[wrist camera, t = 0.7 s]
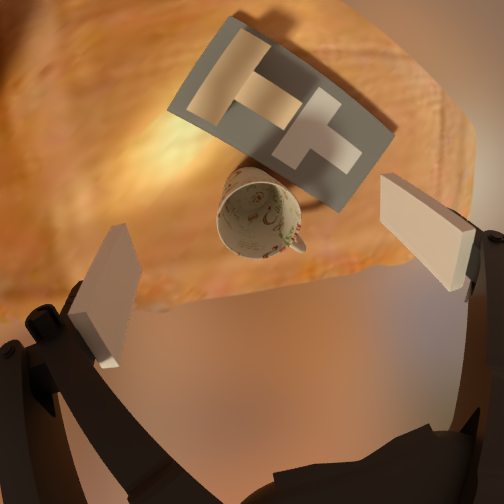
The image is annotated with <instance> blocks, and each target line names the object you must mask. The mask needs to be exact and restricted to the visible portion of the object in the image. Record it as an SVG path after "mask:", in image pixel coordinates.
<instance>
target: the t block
mask: <svg viewBox="0 0 504 504" xmlns="http://www.w3.org/2000/svg"><path fill="white" fill-rule="evenodd" d="M270 47H271V45H269V44H267V43H266V42H264V41H262V40H261V39H259V38H258V37H256V36H254V35H253V34H251V33H249V32H247V31H246V30H244V29H242V28H241V29H240V30H239V32H238V33H237V34H236V36H235V37H234V38H233V40H232V41H231V43H230V44H229V45H228V47H227V48H226V50H225V51H224V52H223V54H222V55H221V57H220V58H219V60H218V61H217V63H216V64H215V66H214V67H213V68H212V70H211V71H210V73H209V74H208V76H207V77H206V79H205V81H204V82H203V84H202V85H201V87H200V88H199V90H198V91H197V93H196V95H195V96H194V98H193V99H192V101H191V103H190V104H189V106H188V107H187V109H186V110H188V111H190V112H192V113H193V114H195V115H197V116H199V117H201V118H203V119H204V120H206V121H208V122H210V123H212V124H213V125H215V126H217V125H218V123H219V121H220V120H221V118H222V117H223V115H224V114H225V112H226V111H227V109H228V108H229V106H230V104H231V103H232V101H233V100H236V101H238V102H239V103H241V104H243V105H244V106H246V107H248V108H249V109H251V110H253V111H254V112H256V113H257V114H259V115H261V116H262V117H264V118H265V119H267V120H269V121H270V122H272V123H273V124H275V125H276V126H278V127H280V128H281V129H283V130H284V129H285V128H286V126H287V125H288V123H289V122H290V120H291V119H292V118H293V116H294V115H295V113H296V112H297V110H298V109H299V108H300V106H301V105H302V102H300V101H299V100H297V99H296V98H294V97H293V96H291V95H290V94H288V93H287V92H285V91H284V90H282V89H281V88H279V87H278V86H276V85H275V84H273V83H272V82H270V81H269V80H267V79H265V78H264V77H262V76H261V75H259V74H257V73H256V72H254V69H255V68H256V66H257V65H258V64H259V62H260V61H261V59H262V58H263V57H264V55H265V54H266V53H267V51H268V50H269V48H270Z"/></svg>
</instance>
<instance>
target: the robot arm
mask: <svg viewBox="0 0 504 504" xmlns="http://www.w3.org/2000/svg"><path fill="white" fill-rule="evenodd" d="M380 222H381V223H382V224H383V225H384V226H385V227H386V228H387V229H388V230H389V231H391V232H392V233H393V234H394V235H395V236H396V237H397V238H398V239H399V240H400V241H401V242H402V243H403V244H404V245H405V246H406V247H407V248H408V249H409V250H410V251H411V252H412V253H413V254H414V255H415V256H416V257H417V258H418V259H419V260H420V261H421V262H422V263H423V264H424V265H425V266H426V267H427V269H429V271H430V272H431V273H432V274H433V275H434V276H435V277H436V278H437V279H438V280H439V281H440V282H441V283H442V284H443V285H444V287H445V288H446V289H447V290H448V291H449V292H451V291H454V290H457V289H459V288H462V287H463V283H464V280H465V276H466V275H467V276H468V277H469V278H470V279H471V282H470V286H469V289H468V292H467V296H466V299H465V302H467V301H468V300H469V301H468V318H467V320H468V321H467V332H466V343H465V352H464V360H463V367H462V374H461V381H460V387H459V392H458V398H457V403H456V408H455V413H454V417H453V421H452V424H451V426H450V428H449V430H448V431H434V432H433V431H432V428H431V427H430V425H429V424H426V425H424V426H422V427H420V428H418V429H415V430H413V431H410V432H408V433H406V434H403V435H401V436H398V437H396V438H394V439H393V440H391V441H390V442H388V443H387V444H385V445H384V446H382V447H381V448H379V449H378V450H376V451H375V452H373V453H372V454H370V455H369V456H367V457H365V458H364V459H362V460H359V461H355V462H342V463H326V464H325V463H324V464H312V465H308V466H304V467H299V468H295V469H290V470H286V471H281V472H276V473H273V477H274V482H272V483H269V484H267V485H265V486H263V487H262V488H260V489H258V490H256V491H255V492H254V493H252V494H251V495H249V496H248V497H247V498H246V499H245V500H244V501H242V502H241V504H504V234H502V233H500V232H497V231H493V230H487V231H484V232H483V231H482V230H480V229H479V228H478V227H476V226H475V225H474V224H472V223H471V222H470V221H467V219H466V218H464V217H463V216H462V217H461V215H460V214H459V213H457V212H456V211H454V210H452V209H450V208H447V207H445V206H444V205H442V204H441V203H439V202H438V201H437V200H435V199H434V198H432V197H431V196H429V195H428V194H426V193H424V192H423V191H421V190H420V189H418V188H417V187H415V186H414V185H412V184H410V183H409V182H407V181H406V180H404V179H402V178H401V177H399V176H397V175H396V174H394V173H387V174H381V199H380ZM141 272H142V268H141V265H140V262H139V260H138V257H137V254H136V252H135V249H134V246H133V244H132V241H131V238H130V235H129V233H128V230H127V227H126V224H121V225H117V226H113V227H111V229H110V231H109V232H108V234H107V236H106V238H105V240H104V241H103V243H102V245H101V247H100V249H99V251H98V253H97V255H96V257H95V258H94V260H93V262H92V264H91V266H90V268H89V270H88V272H87V274H86V276H85V278H84V280H82V281H79V282H78V283H77V284H76V285H75V286H74V287H73V288H72V290H71V292H70V294H69V296H68V298H67V300H66V302H65V305H64V306H63V308H62V310H61V313H60V315H59V314H58V312H57V310H56V309H55V307H54V306H53V305H52V304H45V305H42V306H40V307H38V308H36V309H35V310H33V311H32V312H31V313H30V314H29V316H28V317H27V319H26V321H25V326H26V328H27V329H28V331H29V332H30V334H31V335H32V337H33V338H34V340H35V341H36V344H33V345H31V346H28V347H26V348H24V346H23V345H22V344H21V343H20V341H18V340H11V341H9V342H7V343H5V344H4V345H3V346H2V347H1V348H0V486H1V492H2V498H3V503H4V504H88V503H87V501H86V498H85V496H84V492H83V490H82V487H81V484H80V481H79V478H78V475H77V471H76V468H75V465H74V462H73V458H72V455H71V451H70V448H69V444H68V440H67V436H66V432H65V428H64V424H63V420H62V415H61V410H60V405H59V400H58V395H57V392H61V394H62V396H63V398H64V400H65V401H66V403H67V405H68V407H69V408H70V410H71V412H72V413H73V416H74V417H75V419H76V421H77V422H78V424H79V426H80V427H81V429H82V430H83V432H84V434H85V435H86V437H87V438H88V440H89V441H90V443H91V444H92V446H93V447H94V449H95V450H96V452H97V453H98V455H99V456H100V458H101V459H102V460H103V462H104V463H105V465H106V466H107V467H108V469H109V470H110V471H111V473H112V474H113V475H114V477H115V478H116V479H117V481H118V482H119V483H120V485H121V486H122V487H123V488H124V490H125V491H126V492H127V494H128V498H127V499H128V502H129V503H130V504H223V503H222V502H221V501H220V500H219V499H217V498H216V497H215V496H214V495H212V494H211V493H210V492H209V491H208V490H207V489H205V488H204V487H203V486H202V485H201V484H200V483H199V482H198V481H196V480H195V479H194V478H193V477H192V476H191V475H190V474H189V473H188V472H186V471H185V470H184V469H183V468H182V467H181V466H180V465H179V464H178V463H177V462H176V461H175V460H174V459H173V458H172V457H171V456H169V455H168V453H167V452H166V451H165V450H164V449H163V448H162V447H161V446H160V445H159V444H158V443H157V442H156V441H155V440H154V439H153V438H152V437H151V436H150V435H149V434H148V432H147V431H146V430H145V429H144V428H143V427H142V426H141V425H140V424H139V423H138V421H137V420H136V419H135V418H134V417H133V416H132V414H131V413H130V412H129V411H128V410H127V409H126V407H125V406H124V405H123V404H122V403H121V401H120V400H119V399H118V398H117V397H116V395H115V394H114V393H113V392H112V390H111V389H110V388H109V387H108V385H107V384H106V383H105V381H104V380H103V379H102V377H101V376H100V375H99V373H98V372H97V371H96V369H95V368H94V367H93V365H94V361H95V359H96V360H97V362H98V363H99V364H100V366H101V367H102V368H112V367H119V366H120V361H121V356H122V351H123V347H124V342H125V337H126V333H127V328H128V324H129V320H130V316H131V311H132V307H133V303H134V299H135V295H136V291H137V287H138V284H139V280H140V276H141Z"/></svg>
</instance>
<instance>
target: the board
mask: <svg viewBox="0 0 504 504" xmlns="http://www.w3.org/2000/svg"><path fill="white" fill-rule="evenodd" d="M241 28H242V29H244V30H246V31H247V32H249V33H251V34H253V35H254V36H256V37H258V38H259V39H261V40H262V41H264V42H266V43H267V44H269V45H271V47H270V48H269V50H268V51H267V53H266V54H265V55H264V57H263V58H262V59H261V61H260V62H259V64H258V65H257V66H256V68H255V69H254V72H256V73H257V74H259V75H261V76H262V77H264V78H265V79H267V80H269V81H270V82H272V83H273V84H275V85H276V86H278V87H279V88H281V89H282V90H284V91H285V92H287V93H288V94H290V95H291V96H293V97H294V98H296V99H297V100H299V101H300V102H302V105H301V106H300V108H299V109H298V110H297V112H296V113H295V115H294V116H293V118H292V119H291V120H290V122H289V123H288V125H287V126H286V128H285V129H284V130H283V129H281V128H280V127H278V126H276V125H275V124H273V123H272V122H270V121H269V120H267V119H265V118H264V117H262V116H261V115H259V114H257V113H256V112H254V111H253V110H251V109H249V108H248V107H246V106H244V105H243V104H241V103H239V102H238V101H236V100H233V101H232V103H231V104H230V106H229V108H228V109H227V111H226V112H225V114H224V115H223V117H222V118H221V120H220V121H219V123H218V125H217V126H215V125H213V124H212V123H210V122H208V121H206V120H204V119H203V118H201V117H199V116H197V115H195V114H193V113H192V112H190V111H188V110H186V109H187V107H188V106H189V104H190V103H191V101H192V99H193V98H194V96H195V95H196V93H197V91H198V90H199V88H200V87H201V85H202V84H203V82H204V81H205V79H206V77H207V76H208V74H209V73H210V71H211V70H212V68H213V67H214V66H215V64H216V63H217V61H218V60H219V58H220V57H221V55H222V54H223V52H224V51H225V50H226V48H227V47H228V45H229V44H230V43H231V41H232V40H233V38H234V37H235V36H236V34H237V33H238V32H239V30H240V29H241ZM167 111H169V112H171V113H173V114H175V115H176V116H178V117H180V118H182V119H184V120H186V121H188V122H190V123H191V124H193V125H195V126H197V127H199V128H201V129H202V130H204V131H206V132H208V133H210V134H211V135H213V136H215V137H217V138H219V139H220V140H222V141H224V142H226V143H227V144H229V145H231V146H233V147H234V148H236V149H238V150H239V151H241V152H243V153H245V154H246V155H248V156H250V157H251V158H253V159H255V160H256V161H258V162H260V163H261V164H263V165H265V166H266V167H268V168H269V169H271V170H273V171H274V172H276V173H278V174H279V175H281V176H282V177H284V178H286V179H287V180H289V181H290V182H292V183H294V184H295V185H297V186H298V187H300V188H301V189H303V190H304V191H306V192H308V193H309V194H311V195H312V196H314V197H315V198H317V199H318V200H320V201H321V202H323V203H324V204H326V205H327V206H329V207H330V208H332V209H333V210H335V211H336V212H338V213H340V212H341V210H342V209H343V208H344V206H345V205H346V203H347V202H348V201H349V199H350V198H351V197H352V195H353V194H354V193H355V191H356V190H357V189H358V187H359V186H360V185H361V183H362V182H363V180H364V179H365V178H366V176H367V175H368V174H369V172H370V171H371V169H372V168H373V167H374V165H375V164H376V162H377V161H378V160H379V158H380V157H381V155H382V154H383V153H384V151H385V150H386V148H387V147H388V146H389V144H390V143H391V141H392V140H393V138H394V137H395V135H394V134H393V133H392V132H391V131H390V130H389V129H387V128H386V127H385V126H384V125H383V124H382V123H381V122H380V121H379V120H378V119H376V118H375V117H374V116H373V115H372V114H371V113H370V112H368V111H367V110H366V109H365V108H364V107H363V106H361V105H360V104H359V103H358V102H357V101H355V100H354V99H353V98H352V97H351V96H349V95H348V94H347V93H346V92H344V91H343V90H342V89H341V88H339V87H338V86H337V85H336V84H334V83H333V82H332V81H330V80H329V79H328V78H326V77H325V76H324V75H322V74H321V73H320V72H318V71H317V70H316V69H314V68H313V67H311V66H310V65H309V64H307V63H306V62H304V61H303V60H302V59H300V58H299V57H297V56H296V55H294V54H293V53H291V52H290V51H288V50H287V49H285V48H284V47H282V46H281V45H279V44H277V43H276V42H274V41H273V40H271V39H270V38H268V37H266V36H265V35H263V34H261V33H260V32H258V31H256V30H255V29H253V28H251V27H250V26H248V25H246V24H244V23H243V22H241V21H239V20H237V19H235V18H234V17H232V16H229V17H228V19H227V20H226V21H225V23H224V24H223V25H222V27H221V28H220V30H219V31H218V32H217V34H216V35H215V36H214V38H213V39H212V41H211V42H210V44H209V45H208V46H207V48H206V49H205V51H204V52H203V54H202V55H201V57H200V58H199V60H198V61H197V63H196V64H195V66H194V67H193V69H192V70H191V72H190V73H189V75H188V76H187V78H186V79H185V81H184V83H183V84H182V86H181V87H180V89H179V91H178V92H177V94H176V96H175V97H174V99H173V101H172V102H171V104H170V106H169V107H168V109H167Z"/></svg>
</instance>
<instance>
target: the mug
mask: <svg viewBox="0 0 504 504" xmlns="http://www.w3.org/2000/svg"><path fill="white" fill-rule="evenodd" d="M301 220H302V216H301V209H300V205H299V203H298V201H297V199H296V197H295V196H294V195H293V193H292V192H291V191H290V190H289V189H288V188H286V187H285V186H284V185H282V184H281V183H280V182H278V181H277V180H276V179H274V178H273V177H271V176H270V175H269V174H267V173H266V172H264V171H263V170H261V169H259V168H256V167H243V168H240V169H238V170H236V171H234V172H233V173H232V174H231V175H230V176H229V177H228V179H227V181H226V183H225V186H224V190H223V193H222V197H221V201H220V204H219V208H218V212H217V230H218V233H219V236H220V238H221V240H222V241H223V243H224V244H225V245H226V247H227V248H228V249H230V250H231V251H232V252H234V253H235V254H237V255H239V256H242V257H245V258H249V259H264V258H269V257H272V256H275V255H277V254H279V253H281V252H282V251H284V250H285V249H286V248H288V247H289V246H290V247H291V248H293V249H294V250H296V251H298V252H305V251H306V246H305V243H304V242H303V240H302V239H301V238H300V236H299V235H298V233H299V230H300V227H301ZM294 240H295V241H296V242H295V241H294Z"/></svg>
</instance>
